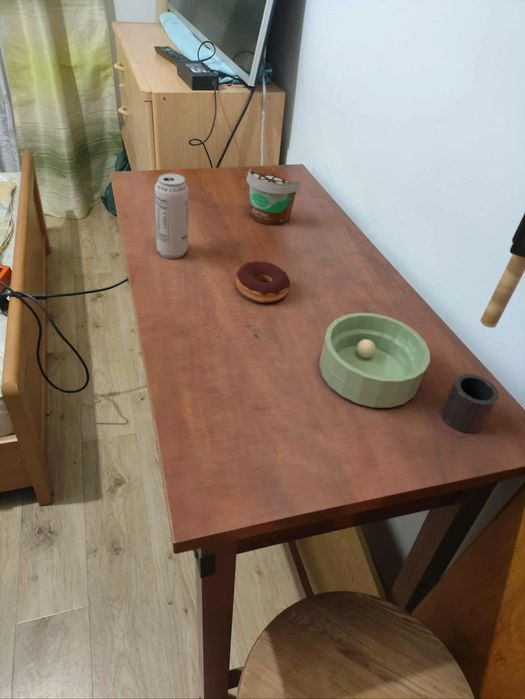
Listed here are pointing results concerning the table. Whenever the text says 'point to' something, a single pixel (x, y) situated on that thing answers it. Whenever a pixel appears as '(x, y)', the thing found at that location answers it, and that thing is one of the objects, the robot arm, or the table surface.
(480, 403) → the holder
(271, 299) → the donut
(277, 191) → the food container
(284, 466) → the table surface
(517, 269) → the stick
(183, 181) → the energy drink can
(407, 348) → the bowl
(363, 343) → the ball
